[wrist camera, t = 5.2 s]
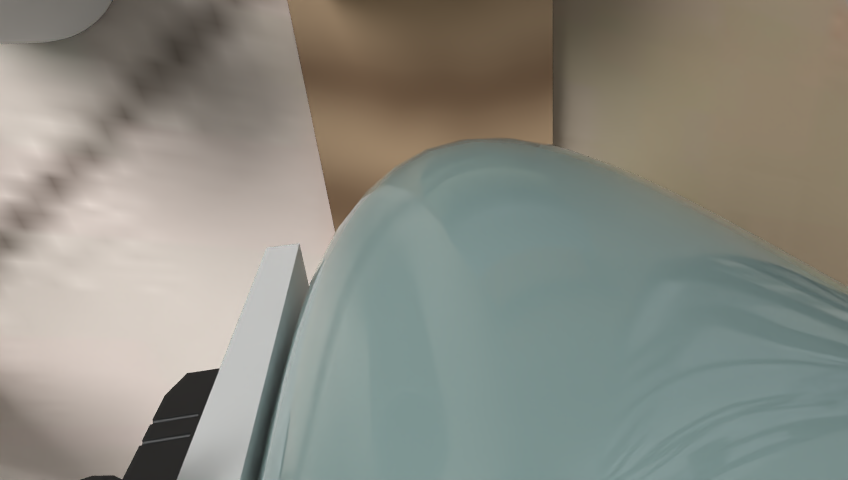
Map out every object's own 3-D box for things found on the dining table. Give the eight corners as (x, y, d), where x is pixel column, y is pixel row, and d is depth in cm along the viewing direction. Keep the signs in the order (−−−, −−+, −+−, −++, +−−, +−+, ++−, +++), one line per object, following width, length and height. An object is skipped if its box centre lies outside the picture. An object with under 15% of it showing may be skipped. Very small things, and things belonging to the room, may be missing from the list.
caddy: (232, -287, 18) (128, -542, 10) (541, -312, 19) (684, -566, 11) (356, 321, 30) (355, 436, 22) (545, 289, 31) (615, 390, 22)
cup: (673, 178, 12) (1595, 664, 3) (522, 407, 15) (783, 1027, 6) (381, 38, 10) (636, 314, 1) (266, 337, 13) (40, 1160, 4)
